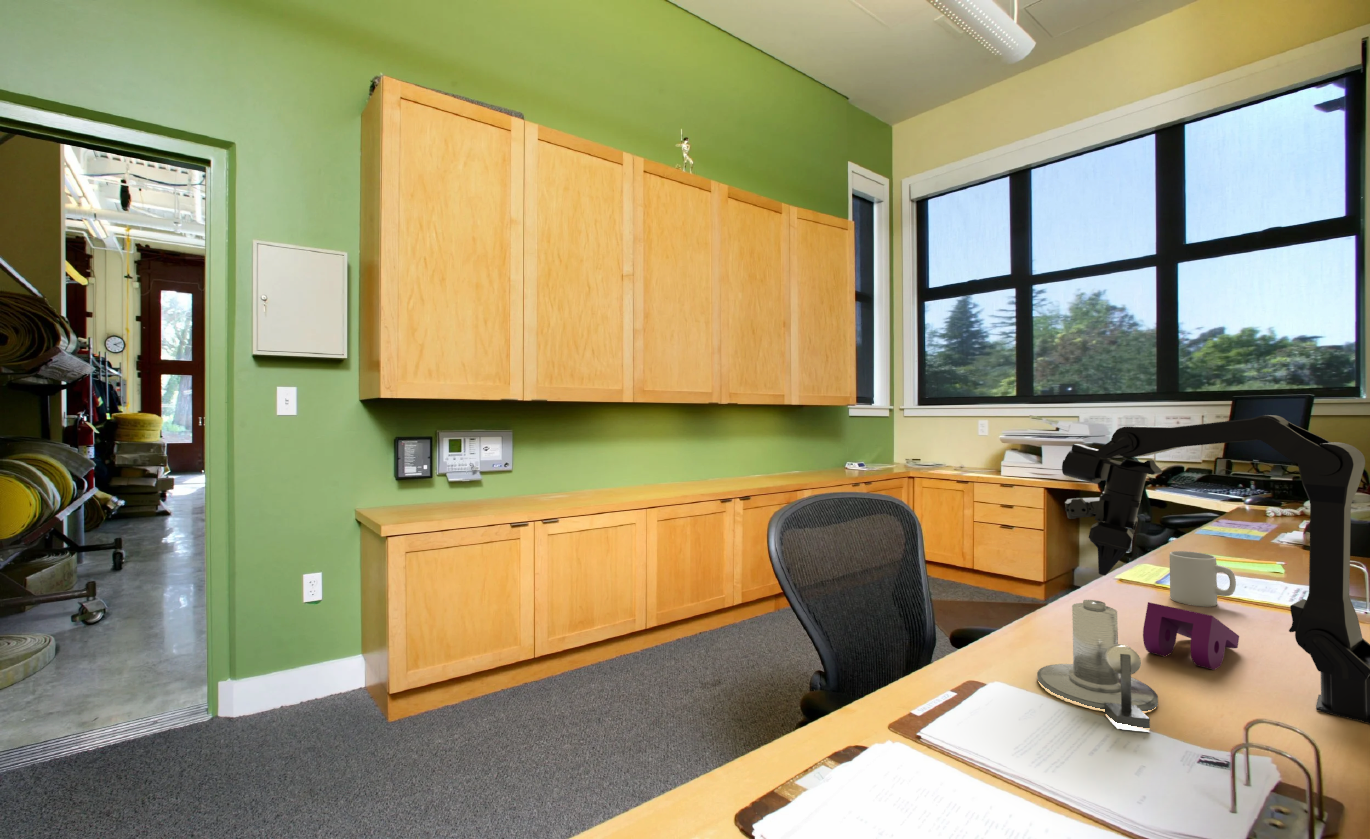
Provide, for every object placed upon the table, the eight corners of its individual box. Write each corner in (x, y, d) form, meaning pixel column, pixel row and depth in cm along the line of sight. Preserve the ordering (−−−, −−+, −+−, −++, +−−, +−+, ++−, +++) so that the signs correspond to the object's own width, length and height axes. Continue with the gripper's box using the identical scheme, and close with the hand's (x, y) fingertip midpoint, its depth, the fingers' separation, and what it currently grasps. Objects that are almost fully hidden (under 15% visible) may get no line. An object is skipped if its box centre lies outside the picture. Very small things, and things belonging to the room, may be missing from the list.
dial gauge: (1150, 733, 82) (1148, 654, 83) (1117, 729, 83) (1115, 651, 84) (1136, 718, 86) (1134, 643, 86) (1104, 715, 87) (1103, 641, 87)
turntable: (1143, 726, 84) (1143, 717, 84) (1021, 689, 96) (1021, 681, 96) (1169, 691, 95) (1168, 684, 95) (1056, 661, 107) (1056, 655, 107)
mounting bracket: (1177, 669, 117) (1139, 646, 108) (1184, 627, 119) (1147, 602, 110) (1240, 686, 109) (1205, 664, 100) (1247, 641, 111) (1212, 615, 102)
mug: (1163, 599, 141) (1162, 554, 142) (1178, 593, 146) (1177, 549, 146) (1229, 613, 131) (1228, 563, 131) (1243, 606, 136) (1242, 558, 136)
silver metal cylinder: (1129, 696, 91) (1127, 611, 91) (1073, 688, 94) (1071, 606, 94) (1117, 677, 97) (1115, 598, 97) (1065, 670, 100) (1064, 594, 100)
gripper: (1079, 473, 124) (1064, 543, 127) (1066, 488, 110) (1048, 566, 113) (1145, 487, 117) (1127, 561, 120) (1140, 504, 103) (1119, 588, 106)
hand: (1104, 568), depth 115 cm, fingers open, 9 cm apart
